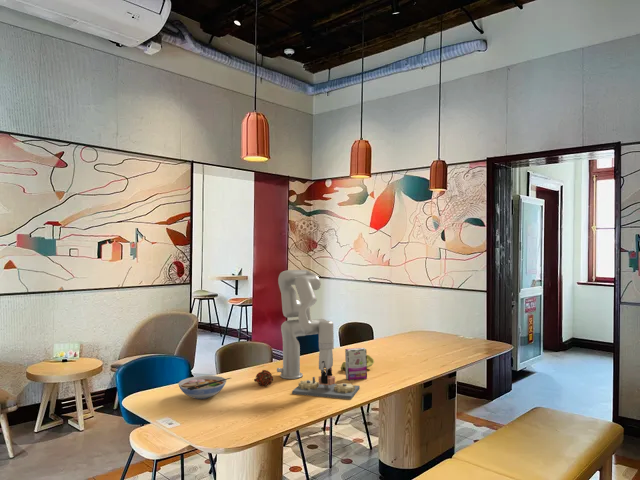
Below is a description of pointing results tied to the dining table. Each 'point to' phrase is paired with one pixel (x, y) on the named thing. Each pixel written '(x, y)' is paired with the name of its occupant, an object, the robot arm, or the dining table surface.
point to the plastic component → (369, 363)
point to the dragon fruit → (264, 378)
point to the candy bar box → (356, 363)
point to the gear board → (326, 389)
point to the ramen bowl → (202, 386)
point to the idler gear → (330, 380)
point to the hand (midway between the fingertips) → (326, 381)
